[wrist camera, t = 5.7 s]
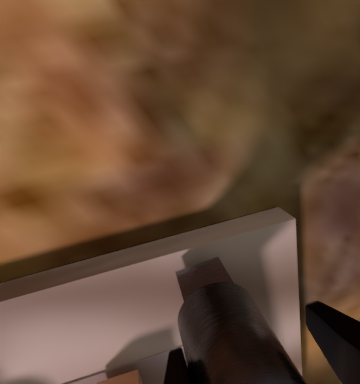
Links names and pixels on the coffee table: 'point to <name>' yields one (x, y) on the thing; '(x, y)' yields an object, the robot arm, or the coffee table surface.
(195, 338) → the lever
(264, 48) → the coffee table surface
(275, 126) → the coffee table surface
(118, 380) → the terracotta cube
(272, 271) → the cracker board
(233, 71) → the coffee table surface
